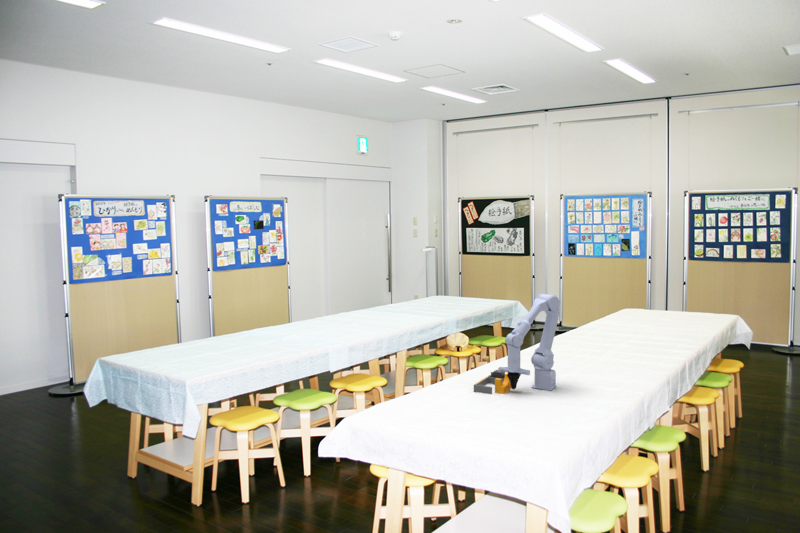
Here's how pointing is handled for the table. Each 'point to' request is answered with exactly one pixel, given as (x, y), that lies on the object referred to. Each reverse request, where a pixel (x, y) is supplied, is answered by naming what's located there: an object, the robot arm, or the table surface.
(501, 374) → the grey piece
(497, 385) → the pipe clamp
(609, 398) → the table surface
